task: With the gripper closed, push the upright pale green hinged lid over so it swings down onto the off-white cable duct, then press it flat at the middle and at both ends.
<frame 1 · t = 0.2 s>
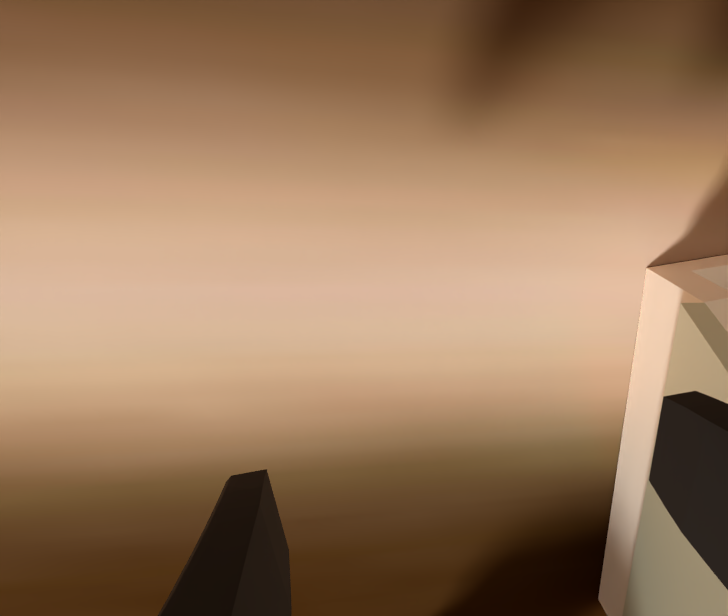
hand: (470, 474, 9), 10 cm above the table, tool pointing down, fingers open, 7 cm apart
duct lid: (675, 597, 18), point 6 cm above the table, hinge at 110.0°
cable duct: (688, 451, 24), on the table
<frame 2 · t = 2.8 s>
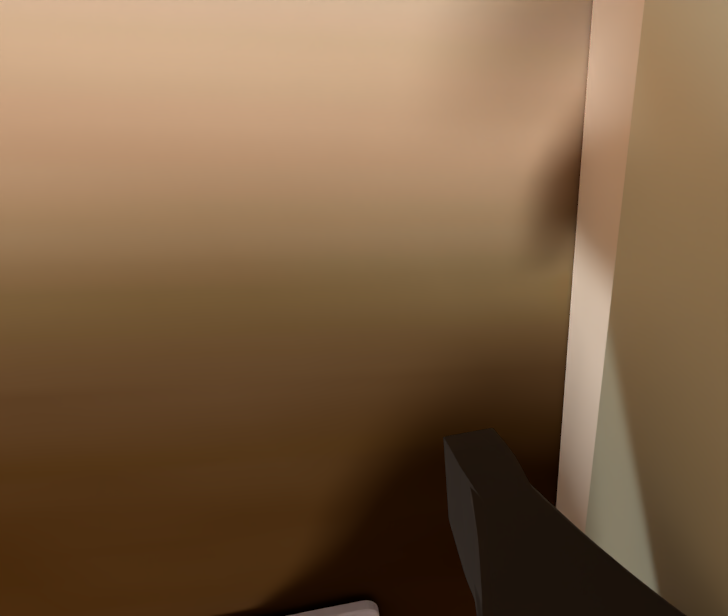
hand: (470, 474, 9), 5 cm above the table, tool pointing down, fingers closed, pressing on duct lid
duct lid: (666, 495, 8), point 6 cm above the table, hinge at 109.6°, touching gripper
cable duct: (690, 292, 14), on the table
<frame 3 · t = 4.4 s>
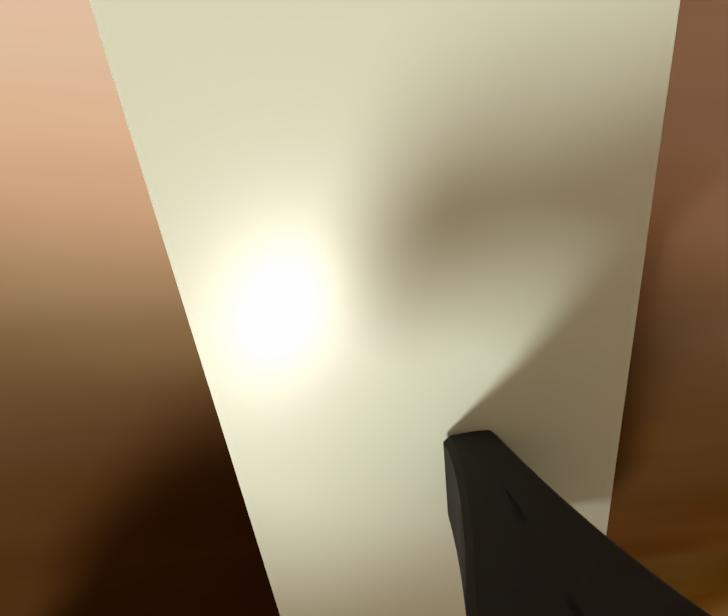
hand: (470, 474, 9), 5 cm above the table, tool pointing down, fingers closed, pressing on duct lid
duct lid: (412, 458, 10), point 4 cm above the table, hinge at 16.0°, touching gripper
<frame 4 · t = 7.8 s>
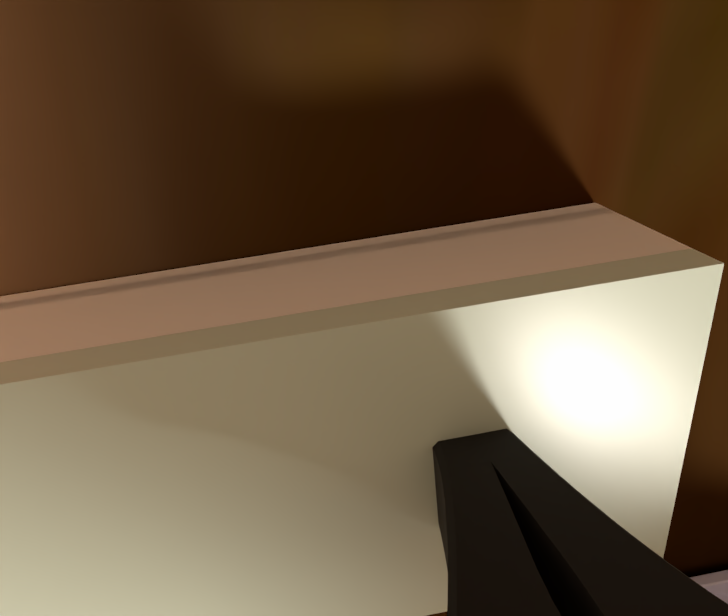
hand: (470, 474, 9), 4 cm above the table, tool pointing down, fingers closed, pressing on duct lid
duct lid: (139, 528, 9), point 3 cm above the table, hinge at -0.3°, touching gripper
cable duct: (177, 411, 12), on the table
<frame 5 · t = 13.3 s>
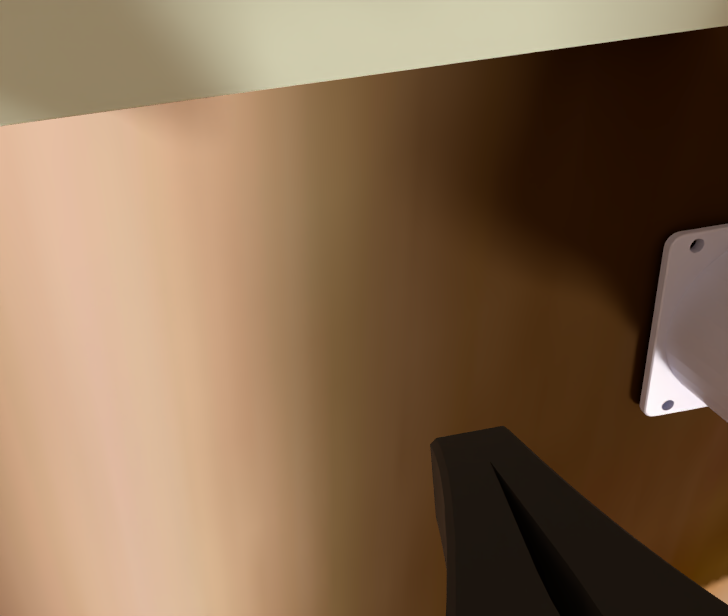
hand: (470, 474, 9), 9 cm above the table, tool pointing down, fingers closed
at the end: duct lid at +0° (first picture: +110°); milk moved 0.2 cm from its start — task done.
